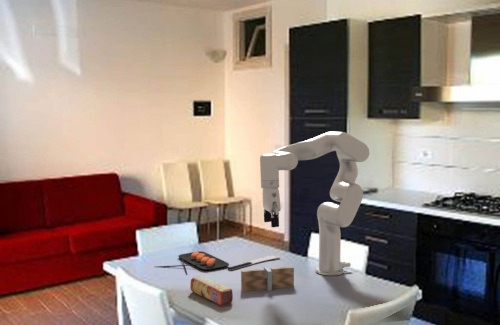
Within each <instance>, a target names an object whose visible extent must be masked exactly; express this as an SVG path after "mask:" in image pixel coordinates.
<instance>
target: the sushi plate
mask: <svg viewBox="0 0 500 325" xmlns="http://www.w3.org/2000/svg"><path fill="white" fill-rule="evenodd" d="M178 258H180V259H181V261H182V264H179V265H175V264H174V265H158V266H155V268H171V267H172V268H174V267H183V268H184V272H185V275H186V276H188V272H187V268H186V267H188V266H190V267H191V266H194V267H196V268H199V269H200V270H202V271H203V270H204V271H210V270H215V269H220V268H225V267H228V266H229V267H230V263H229V262H227V261H225V260H222V259H220V258H218V257H217V256H214V255H212V254H210V253H207V252H205V251H199V250H198V251H194V252H193V251H192V252H187V253H181V254H179V255H178ZM185 262H186V263H189V264H185Z"/></svg>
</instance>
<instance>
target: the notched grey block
mask: <svg viewBox="0 0 500 325" xmlns="http://www.w3.org/2000/svg"><path fill="white" fill-rule="evenodd" d="M263 269H264V270H265V278H266V279H267V289H266V290H267V291H268V292H271V291H272V290H273V288H272V271H271V268H270V267H268V266H263Z"/></svg>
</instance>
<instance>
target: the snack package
mask: <svg viewBox="0 0 500 325" xmlns="http://www.w3.org/2000/svg"><path fill="white" fill-rule="evenodd" d="M190 291H191V292H193V293H194V294H197V295H198V296H201V297H203V298H205V299H207V300H209V301H211V302H213V303H215V304H217V305H219V306H220V307H225V306H228V305H230V304H232V302H233V298H234V297H233V296H234V295H233V289H232V288H230V287H228V286H225V285H223V284H221V283H219V282H217V281H215V280H212V279H210V278H208V277H205V276H204V275H195V276H193V277H192V278H191V279H190Z"/></svg>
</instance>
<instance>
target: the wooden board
mask: <svg viewBox="0 0 500 325" xmlns="http://www.w3.org/2000/svg"><path fill="white" fill-rule="evenodd" d="M270 270H271V271H272V289H279V288H280V289H282V288H291V287H295V285H294V284H295V267H294V266H283V267H271V268H270ZM240 283H241V284H240V285H241V286H240V290H241V291H242V292H246V291H258V290H260V291H261V290H267V279H266V278H265V270H264V268H259V269H257V268H256V269H247V270H240Z"/></svg>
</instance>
